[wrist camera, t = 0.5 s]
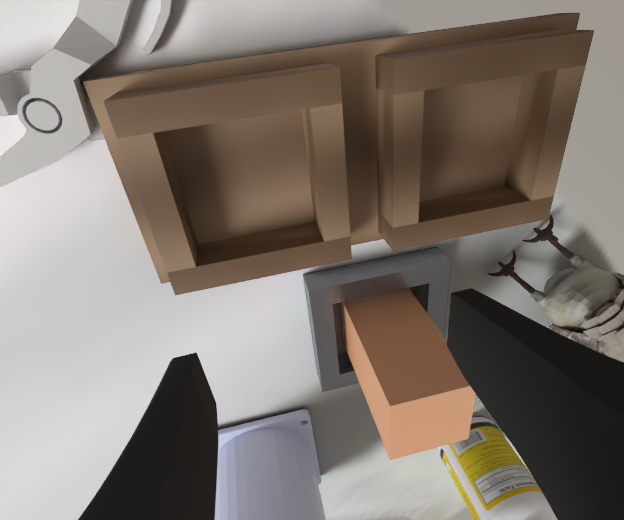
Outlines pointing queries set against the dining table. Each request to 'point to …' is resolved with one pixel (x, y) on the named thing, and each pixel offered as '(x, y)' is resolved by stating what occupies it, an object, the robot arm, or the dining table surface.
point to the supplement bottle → (493, 476)
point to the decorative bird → (580, 300)
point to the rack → (342, 146)
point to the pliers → (64, 87)
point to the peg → (406, 373)
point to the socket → (362, 283)
